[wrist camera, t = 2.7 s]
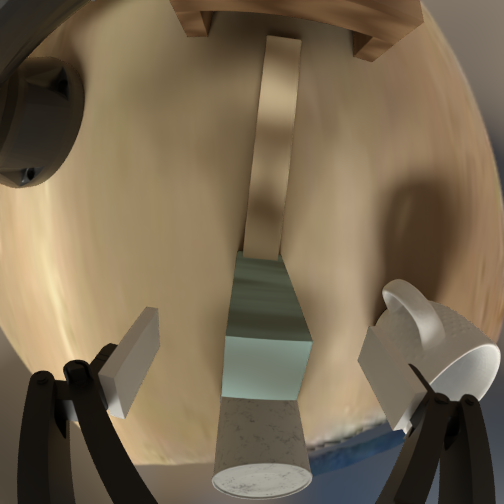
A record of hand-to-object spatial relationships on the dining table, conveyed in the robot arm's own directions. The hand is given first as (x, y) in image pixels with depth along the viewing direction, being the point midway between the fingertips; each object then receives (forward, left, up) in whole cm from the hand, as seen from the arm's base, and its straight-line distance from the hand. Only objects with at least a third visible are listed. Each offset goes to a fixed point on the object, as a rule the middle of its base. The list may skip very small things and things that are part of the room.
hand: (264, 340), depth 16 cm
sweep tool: (-4, +10, -11) cm, 15 cm away
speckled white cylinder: (+8, -15, -11) cm, 20 cm away
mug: (+17, +2, -11) cm, 20 cm away
